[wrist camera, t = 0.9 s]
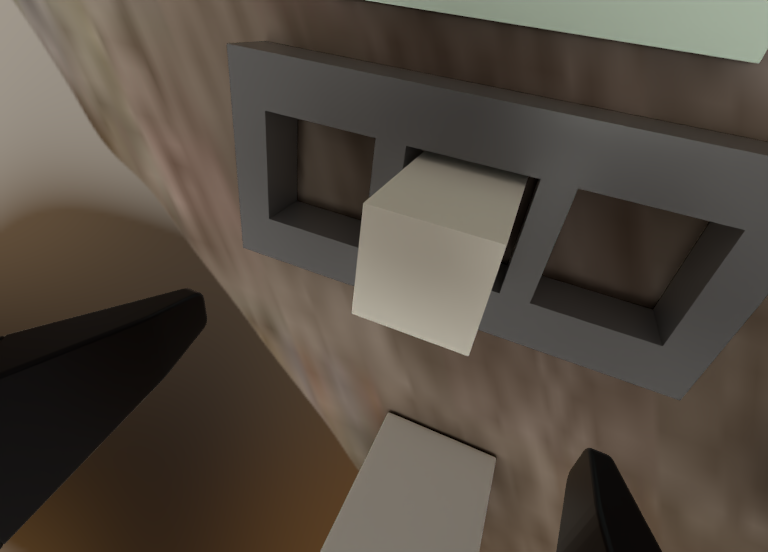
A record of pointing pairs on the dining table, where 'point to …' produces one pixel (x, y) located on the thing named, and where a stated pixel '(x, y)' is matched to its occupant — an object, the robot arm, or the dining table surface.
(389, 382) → the dining table surface
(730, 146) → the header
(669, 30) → the mat
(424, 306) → the plug
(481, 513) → the milk carton
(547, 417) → the dining table surface
